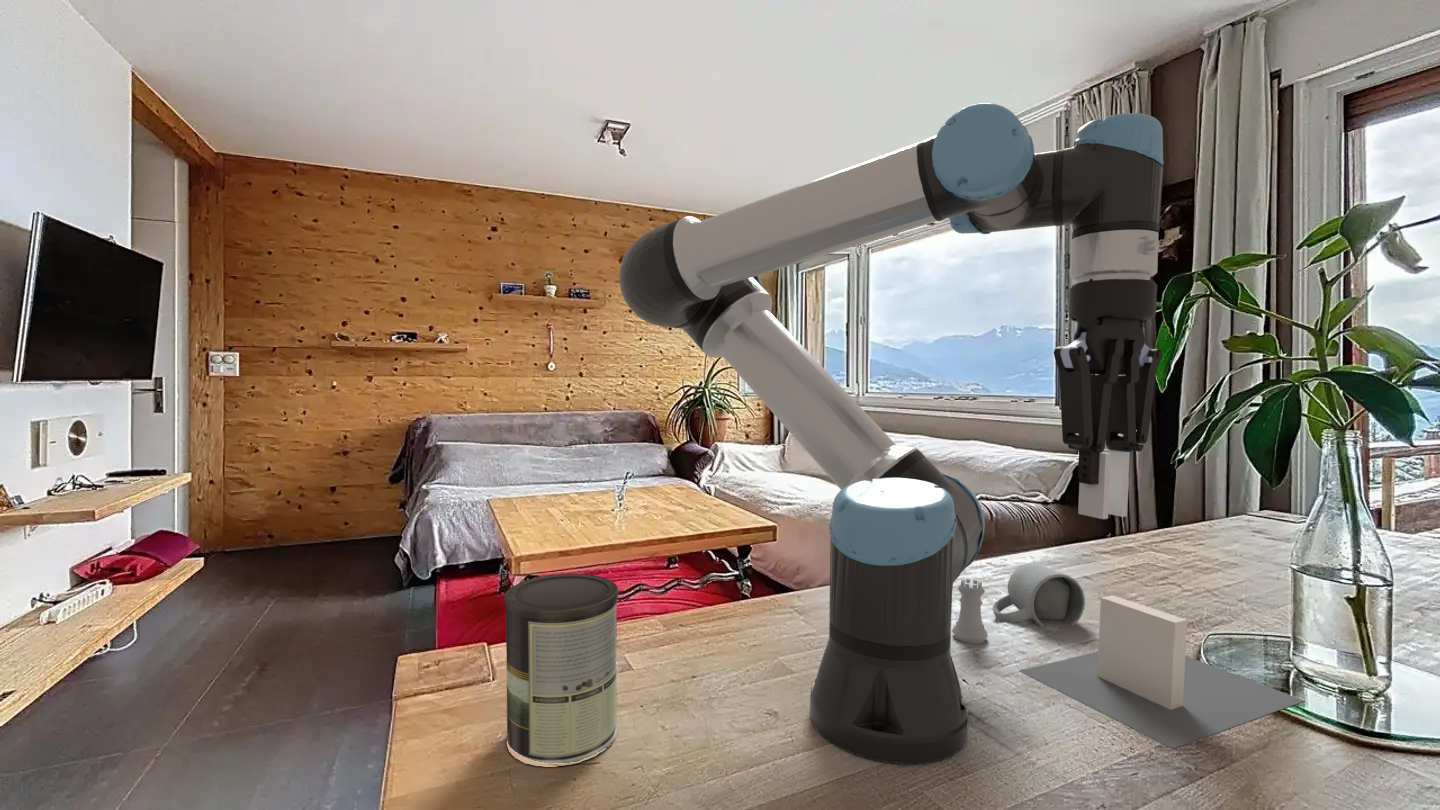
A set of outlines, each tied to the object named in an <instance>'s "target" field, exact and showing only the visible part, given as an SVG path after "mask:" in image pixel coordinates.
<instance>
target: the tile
mask: <svg viewBox="0 0 1440 810" xmlns="http://www.w3.org/2000/svg"><path fill="white" fill-rule="evenodd" d="M1187 633H1188V619H1186V618H1182V617H1180V616H1177V615H1174V614H1170V613H1168V612H1165V611H1162V610H1158V609H1156V608H1152V607H1149V606H1148V605H1143V604H1140V603H1139V602H1134V601H1131V600H1128V599H1125V598H1122V597H1120V596H1116V595H1113V594H1112V595H1108V596H1107V595H1106V596H1102V597H1100V609H1099V631H1098V634H1099V635H1098V651H1099V652H1098V651H1097V652H1098V675H1097V676H1098V677H1100V678H1102V679H1104V680H1107V681H1109V682H1111V683H1113V684H1115V685H1118V686H1120V687H1122V688H1124V689H1126V690H1128V691H1131V692H1133V693H1135V694H1137V695H1139V696H1142V697H1144V698H1146V699H1148V700H1150V701H1153V702H1155V703H1157V704H1159V705H1161V706H1164V707H1166V708H1168V709H1170V710H1171V709H1174V708H1178V707H1181V706H1183V694H1184V674H1185V656H1187V654H1186V652H1187Z"/></svg>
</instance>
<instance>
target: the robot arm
mask: <svg viewBox="0 0 1440 810" xmlns="http://www.w3.org/2000/svg"><path fill="white" fill-rule="evenodd" d="M1163 133H1164V131H1163V127H1162V124H1161V121H1159V120H1158V119H1157V118H1156V117H1154V116H1152V115H1150V114H1147V113H1146V114H1145V113H1140V112H1139V113H1138V112H1137V113H1135V112H1132V113H1119V114H1112V115H1107V116H1105V117H1104V118H1101V119H1095V120H1094V119H1093V120H1092V121H1089V122H1088V123H1085V124H1084V125H1083V126H1081V127H1080V128H1079V129H1078V131H1077V132H1076V136H1075V141H1074V142H1073V146H1072V147H1068V148H1067V147H1066V148H1063V149H1056V150H1053V151H1047V152H1046V151H1043V152H1037V153H1035V146H1034V142H1033V138H1032V136H1031V135H1030V134H1029V132H1028V129H1027V127H1026V126H1025V125H1024V124H1022V121H1021V120H1020V119H1019V118H1018V117H1017V116H1016V115H1015V113H1014V112H1012V110H1010V109H1008V108H1006V107H1005V106H1003V105H999V104H996V103H991V102H989V103H988V102H981V103H975V104H971V105H968V106H965V107H963V108H961V109H960V110H958V111H956V112H955V113H954V114H953V115H952V116H950V117H949V118H948V119H947V120H946V121H945V122H944V124H943V125H942V126H941V127H940V128H939V130H938V132H937V134H936V135H934V136H932V137H929V138H927V139H924V140H922V141H919V142H917V143H914V144H911V145H908V146H905V147H902V148H900V149H897V150H895V151H891V152H889V153H886V154H884V155H880V156H878V157H875V158H872V159H869V160H867V161H863V162H861V163H858V164H856V165H853V166H850V167H847V168H844V169H841V170H839V171H835V172H833V173H831V174H830V173H829V174H828V175H825V176H822V177H820V178H817V179H814V180H811V181H809V182H808V181H807V182H806V183H803V184H800V185H798V186H795V187H792V188H789V189H785V190H783V191H780V192H779V193H778V192H777V193H776V194H772V195H769V196H768V197H764V198H762V199H758V200H756V201H754V202H751V203H748V204H747V203H746V204H745V205H742V206H739V207H736V208H734V209H730V210H729V211H725V212H723V213H719V214H716V215H714V216H711V217H709V218H706V219H703V220H699V219H697V218H696V217H694V216H689V215H688V216H685V217H681V218H678V219H676V220H673V221H671V222H668V223H665V224H662V225H661V226H658V227H655V228H653V229H650V230H649V231H647V232H645V233H644V234H642V235H641V236H640V237H638V238H637V239H635V241H634V242H633V243H631V244H630V246H629V248H628V249H627V250H626V251H625V254H624V255H623V258H622V259H621V262H620V263H621V264H620V267H619V275H618V276H619V277H618V278H619V287H620V292H621V294H622V297H623V300H624V302H625V303H626V304H627V306H628V308H629V309H630V310H631V311H632V313H634V314H635V315H636V316H637V318H639V319H641V320H643V321H645V322H646V323H649V324H651V325H653V326H656V327H657V326H658V327H663V328H673V329H680V330H682V331H684V332H685V333H686V334H687V336H689V337H690V339H692V341H693V342H694V343H695V344H696V346H698V348H699V349H700V350H701V351H702V352H703V353H704V355H706V356H707V357H709V358H724V360H725V361H726V362H727V363H728V365H730V367H732V369H733V370H734V371H735V372H736V373H737V374H738V375H739V377H740V378H741V379H742V380H743V381H744V383H746V385H748V387H749V388H750V389H751V390H752V391H753V392H754V394H755V395H756V396H757V397H758V398H759V399H760V400H761V402H763V404H764V405H765V406H766V407H767V409H769V410H770V412H771V413H773V415H774V416H775V417H776V418H777V419H778V421H779V422H780V423H781V424H782V425H783V427H784V428H785V429H786V430H787V431H788V432H789V433H790V434H791V435H792V436H793V438H795V440H796V441H797V442H798V443H799V444H800V445H801V446H802V448H803V449H804V450H805V451H806V452H807V454H808V455H810V457H812V459H813V460H814V461H815V462H816V464H817V465H818V466H819V467H821V469H822V470H823V472H824V473H825V474H826V475H827V476H828V477H829V478H830V479H831V480H832V482H833V483H834V484H836V486H837V488H839V489H840V490H839V491H838V493H837V494H836V495H835V497H834V498H833V499H834V500H833V502H832V509H831V516H830V522H829V526H828V530H829V535H830V540H829V541H830V542H829V543H830V545H829V546H830V547H829V548H830V552H829V553H830V554H829V556H830V557H829V558H830V559H829V562H830V563H829V623H828V624H829V627H828V630H829V631H828V641H827V645H826V646H825V649H824V652H823V655H822V658H821V661H820V664H819V668H818V671H817V673H816V677H815V680H814V681H813V683H812V686H811V687H810V694H809V695H810V699H809V702H810V704H809V717H810V720H811V723H812V725H813V726H814V728H815V729H816V731H817V732H818V733H819V734H821V736H822V737H824V738H825V739H826V740H827V741H829V742H830V743H832V745H835V746H837V747H838V748H841V749H842V750H844V751H845V752H846V751H847V752H849V753H851V754H854V755H857V756H859V757H862V758H865V759H870V760H873V761H874V760H875V761H879V762H885V763H892V764H903V765H904V764H907V765H908V764H909V765H910V764H911V765H912V764H925V763H932V762H936V761H941V760H944V759H946V758H948V757H951V756H953V755H954V754H956V753H957V752H959V751H960V750H961V749H962V748H963V746H964V745H965V743H966V741H967V738H968V720H969V719H968V718H969V714H968V707H967V704H966V700H965V699H964V697H963V694H962V693H963V692H962V689H961V685H960V681H959V677H958V674H957V671H956V667H955V663H954V661H953V658H952V652H951V640H952V639H951V637H952V636H951V635H952V634H951V633H952V610H953V609H952V608H953V607H952V606H953V603H952V602H953V588H954V582H955V581H957V580H958V578H959V576H960V575H961V574H962V573H963V571H965V569H967V567H969V566H971V565H972V563H973V562H974V561H975V560H976V557H977V556H978V554H979V553H980V551H981V547H982V543H983V541H984V535H985V528H986V527H985V516H984V511H983V509H982V505H981V503H980V501H979V499H978V497H977V496H976V494H975V493H974V492H973V491H972V490H971V488H970V487H968V486H967V485H966V484H965V483H964V482H963V481H960V480H959V479H958V478H955V477H953V476H952V475H950V474H947V473H943V472H941V471H940V469H938V468H937V467H936V466H935V465H934V464H933V463H932V462H931V461H930V460H929V459H928V458H927V457H926V455H924V454H923V453H922V452H921V451H920V449H918V448H917V447H914V446H900V445H897V444H896V443H895V442H894V441H893V440H892V438H890V437H889V435H888V434H887V433H886V432H885V431H884V430H883V429H882V428H881V427H880V426H879V425H878V424H877V422H875V421H874V420H873V419H872V417H870V416H869V414H868V413H867V412H866V411H865V410H864V409H863V408H862V407H861V406H860V405H859V404H858V402H856V401H855V400H854V399H853V397H852V396H850V395H849V394H848V392H847V391H846V390H845V389H844V388H843V387H842V386H841V385H840V384H839V383H838V382H837V381H836V380H835V379H834V377H832V376H831V375H830V374H829V372H828V371H827V370H826V369H825V368H824V367H823V366H822V365H821V364H820V362H818V361H817V360H816V358H814V356H812V355H811V353H810V352H809V351H808V350H807V349H806V348H805V347H804V346H803V345H802V344H801V343H800V342H799V340H797V338H796V337H794V336H793V335H792V333H791V332H789V330H788V329H787V328H786V327H785V326H784V325H783V324H782V323H781V322H780V320H778V319H777V318H776V316H774V315H773V314H772V308H773V298H772V296H771V294H769V292H768V291H767V290H766V289H765V288H764V287H763V283H762V280H761V275H764V274H767V273H770V272H774V271H778V270H781V269H784V268H787V267H790V266H794V265H797V264H800V263H803V262H807V261H810V260H813V259H817V258H820V257H823V256H827V255H830V254H833V253H836V252H840V251H843V250H847V249H850V248H853V247H856V246H861V245H863V244H866V243H870V242H873V241H876V240H879V239H882V238H885V237H889V236H892V235H895V234H900V233H902V232H906V231H908V230H913V229H915V228H919V227H922V226H923V227H924V226H925V225H928V224H929V225H930V224H932V223H935V222H940V221H943V220H946V219H947V220H949V222H950V223H949V224H950V226H951V228H952V230H953V231H955V232H956V233H957V234H963V235H964V234H965V235H966V234H981V235H990V234H991V233H997V232H1005V231H1006V232H1007V231H1016V230H1017V231H1019V230H1026V229H1027V230H1029V229H1037V228H1046V227H1047V228H1048V227H1060V226H1061V227H1062V226H1069V225H1071V227H1072V232H1071V245H1070V246H1071V247H1070V263H1069V265H1070V266H1069V278H1070V279H1071V280H1072V281H1075V283H1074V284H1072V285H1071V287H1070V288H1069V298H1068V299H1069V300H1068V301H1069V302H1068V303H1069V305H1068V319H1070V320H1071V321H1073V322H1076V323H1077V327H1076V331H1075V333H1074V335H1073V341H1072V342H1071V343H1069V344H1068V345H1067V346H1057V347H1055V348H1054V350H1053V356H1054V360H1055V363H1056V366H1057V369H1058V373H1059V374H1058V377H1059V394H1060V397H1059V398H1060V416H1061V430H1062V431H1061V434H1062V436H1061V437H1062V442H1063V444H1064V445H1067V446H1068V448H1069V449H1070V450H1074V451H1077V452H1078V465H1077V467H1078V469H1077V480H1078V484H1079V486H1078V489H1079V490H1078V506H1077V507H1078V511H1077V512H1078V513H1077V514H1078V515H1082V516H1087V517H1091V518H1096V519H1100V520H1107V519H1109V515H1112V516H1117V517H1121V518H1125V517H1128V503H1129V502H1128V501H1129V498H1128V497H1129V483H1130V482H1129V480H1130V475H1131V456H1132V452H1138V453H1139V452H1142V450H1143V449H1144V444H1146V443H1147V442H1148V439H1149V431H1150V429H1149V428H1150V425H1151V424H1150V422H1151V415H1152V407H1153V401H1154V400H1153V399H1154V394H1155V393H1154V392H1155V387H1156V386H1155V385H1156V376H1157V371H1158V369H1159V366H1160V364H1161V361H1162V358H1163V351H1162V350H1161V349H1160V348H1150V347H1149V346H1148V345H1147V344H1146V335H1145V332H1144V323H1145V321H1149V320H1152V319H1153V318H1154V317H1156V314H1157V299H1158V298H1157V295H1158V284H1157V283H1156V282H1155V281H1154V280H1153V279H1152V280H1151V277H1155V275H1157V273H1158V265H1159V263H1158V262H1159V260H1158V258H1159V257H1158V256H1159V248H1160V242H1159V233H1160V225H1161V209H1162V192H1163V177H1164V141H1163V140H1164V137H1163V135H1164V134H1163Z"/></svg>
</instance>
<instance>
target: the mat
mask: <svg viewBox="0 0 1440 810" xmlns="http://www.w3.org/2000/svg"><path fill="white" fill-rule="evenodd" d="M1098 652H1099V650H1098V651H1094V652H1091V653H1086V654H1082V655H1078V656H1074V657H1071V658H1066V659H1062V660H1061V659H1060V660H1058V661H1053V662H1050V663H1046V664H1042V665H1037V666H1034V667H1030V668H1025V669H1021V670H1019V672H1020V673H1022V674H1024V675H1026V676H1028V677H1029V678H1031V679H1034V680H1036V681H1038V682H1040V683H1042V684H1043V685H1046V686H1047V687H1050V688H1051V689H1053V690H1055V691H1058V693H1059V692H1060V693H1062V694H1063V695H1065V696H1067V697H1069V698H1071V699H1073V700H1076V701H1078V702H1079V703H1081V704H1083V705H1085V706H1087V707H1089V708H1091V709H1092V710H1095V711H1097V712H1099V713H1101V714H1103V715H1105V716H1106V717H1109V718H1110V719H1111V718H1112V719H1113V720H1115V721H1117V722H1118V723H1121V724H1123V725H1125V726H1126V727H1129V728H1131V729H1132V730H1134V731H1137V732H1139V733H1141V734H1143V735H1144V736H1146V737H1149V738H1150V739H1152V740H1155V741H1157V742H1158V743H1161V744H1162V745H1164V746H1166V747H1168V748H1170V749H1172V750H1175V749H1177V748H1180V747H1182V746H1185V745H1188V744H1191V743H1194V742H1196V741H1199V740H1201V739H1204V738H1208V737H1211V736H1212V735H1215V734H1218V733H1222V732H1224V731H1227V730H1229V729H1232V728H1236V727H1237V726H1240V725H1243V724H1245V723H1248V722H1252V721H1254V720H1257V719H1259V718H1263V717H1265V716H1268V715H1271V714H1273V713H1276V712H1279V711H1282V710H1285V709H1287V708H1290V707H1293V706H1295V705H1298V704H1301V703H1304V702H1305V700H1304V699H1301V698H1299V697H1297V696H1294V695H1291V694H1288V693H1285V692H1282V691H1281V690H1277V689H1275V688H1272V687H1269V686H1266V685H1264V684H1262V683H1259V682H1256V681H1254V680H1251V679H1248V678H1245V677H1243V676H1240V675H1238V674H1235V673H1232V672H1230V671H1228V670H1224V669H1221V668H1219V667H1216V666H1214V665H1212V664H1208V663H1205V662H1203V661H1200V660H1198V659H1195V658H1192V657H1189V656H1187V655H1185V674H1184V694H1183V706H1181V707H1178V708H1174V709H1171V710H1170V709H1168V708H1166V707H1164V706H1161V705H1159V704H1157V703H1155V702H1153V701H1150V700H1148V699H1146V698H1144V697H1142V696H1139V695H1137V694H1135V693H1133V692H1131V691H1128V690H1126V689H1124V688H1122V687H1120V686H1118V685H1115V684H1113V683H1111V682H1109V681H1107V680H1104V679H1102V678H1100V677H1098V676H1097V675H1098Z"/></svg>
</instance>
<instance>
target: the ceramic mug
mask: <svg viewBox="0 0 1440 810" xmlns="http://www.w3.org/2000/svg"><path fill="white" fill-rule="evenodd" d="M1007 593H1008V594H1007V595H1005V596H1003V597H1002V598H999V599H997V601H995V602H994V603H993V605H992V611H993V614H994V616H995V619H996V620H997V621H999V622H1000V623H1001V624H1002V623H1003V624H1004V623H1009V622H1014V623H1015V622H1016V623H1021V622H1025V621H1027V620H1030V619H1031V620H1032V621H1034V622H1035V623H1036V624H1038V625H1039V626H1042V627H1043V626H1045V624H1044V623H1042V622H1041V620H1040V619H1042V620H1043V619H1044V620H1048V621H1049V620H1050V621H1062V620H1063V621H1064V622H1066V624H1068V625H1069V626H1075V625H1076V624H1077V623H1078V622H1079V620H1080V619H1081V618H1082V616H1083V614H1084V610H1085V606H1086V598H1085V593H1084V590H1083V588H1082V586H1081V585H1080V583H1079V582H1078V581H1077V580H1076V579H1074V578H1073V577H1072V576H1070V575H1068V574H1065V573H1063V572H1062V573H1061V572H1059V571H1057V570H1054V569H1052V568H1048V567H1046V566H1044V565H1039V564H1025V565H1022V566H1020V567H1018V568H1017V569H1015V571H1013V572H1012V574H1011V576H1009V579H1008V583H1007ZM1013 605H1014V606H1015V607H1016V609H1017V610H1016V611H1015V610H1014V611H1011V612H1002V611H1003V610H1004V609H1006V608H1009V607H1010V606H1013Z"/></svg>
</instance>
